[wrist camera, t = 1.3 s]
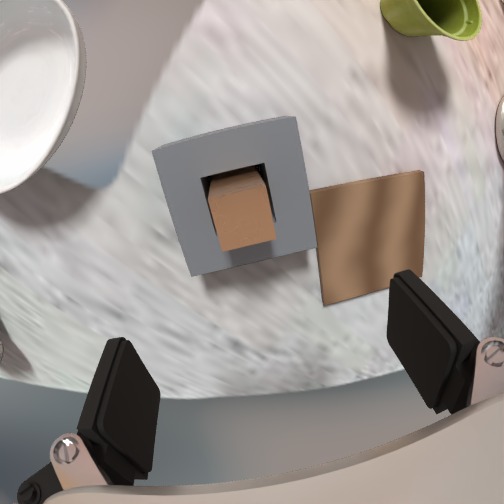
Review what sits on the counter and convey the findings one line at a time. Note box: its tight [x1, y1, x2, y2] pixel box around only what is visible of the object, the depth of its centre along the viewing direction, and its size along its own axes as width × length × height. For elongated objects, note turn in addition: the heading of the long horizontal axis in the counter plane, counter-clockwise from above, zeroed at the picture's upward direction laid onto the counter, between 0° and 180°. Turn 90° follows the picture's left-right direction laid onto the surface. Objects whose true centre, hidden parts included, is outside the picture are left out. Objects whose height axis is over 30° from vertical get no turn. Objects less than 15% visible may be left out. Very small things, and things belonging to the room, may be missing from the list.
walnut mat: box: [309, 170, 425, 305], centre depth 34 cm, size 14×14×1 cm
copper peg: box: [208, 165, 277, 252], centre depth 26 cm, size 4×4×10 cm
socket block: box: [152, 116, 317, 277], centre depth 28 cm, size 12×12×5 cm
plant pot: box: [380, 0, 482, 41], centre depth 19 cm, size 9×9×9 cm
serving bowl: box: [0, 0, 86, 194], centre depth 20 cm, size 21×21×7 cm
